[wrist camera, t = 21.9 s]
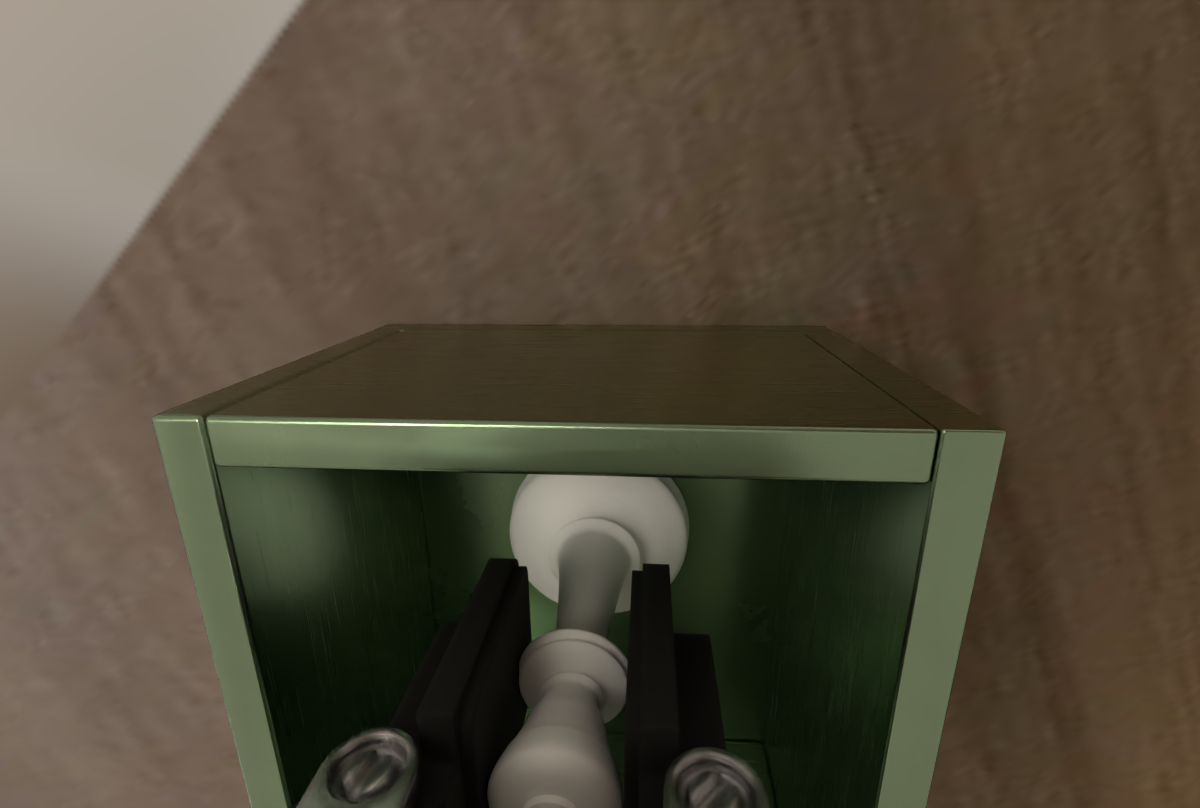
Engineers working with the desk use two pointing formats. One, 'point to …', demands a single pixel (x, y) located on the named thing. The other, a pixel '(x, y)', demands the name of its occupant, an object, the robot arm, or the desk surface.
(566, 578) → the chess piece
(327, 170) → the desk surface
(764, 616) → the bin
